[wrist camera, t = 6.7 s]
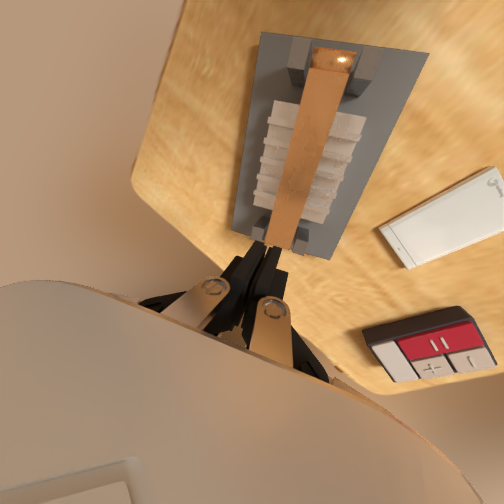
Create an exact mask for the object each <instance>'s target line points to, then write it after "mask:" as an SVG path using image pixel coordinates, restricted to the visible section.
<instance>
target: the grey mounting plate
mask: <svg viewBox="0 0 504 504" xmlns="http://www.w3.org/2000/svg"><path fill="white" fill-rule="evenodd" d="M294 37H299V36H294ZM302 38H306V37H302ZM310 39H312V54H313V50H314V48H315V47H322V48H330V49H337V50H344V51H352V52H357V54H356V57H355V60H354V63H353V66H352V69H351V71H350V74H349V77H348V80H347V83H346V86H345V89H344V92H343V94H342V97H341V100H340V103H339V106H338V109H337V112H341V113H347V114H352V115H357V116H363V117H367V118H366V121H365V123H364V126H363V128H362V131H361V133H360V135H362V136H361V138H360V140H359V142H357V143H356V145H355V148H354V150H353V152H352V155H351V156H352V160H351V162H350V163H349V162H348V164H347V167H346V169H345V172H344V174H343V176H344V179H343V181H340V184H339V186H338V189H337V191H336V193H337V195H336V198H335V199H334V198H333V201H332V203H331V206H330V212H329V215H328V214H327V215H326V218H325V220H324V223H323V224H320V223H317V222H313V221H309V220H306V219H302V218H300V220H299V223H298V226H297V229H296V232H295V235H294V238H293V241H292V244H291V247H290V248H291V249H293V245H294V240H295V236H296V233H297V231H298V228H299V227H303V228H306V229H309V243H308V246H307V248H306V251H305V253H307V254H310V255H314V256H317V257H320V258H323V259H327V260H330V259H331V257H332V255H333V252H334V250H335V248H336V246H337V244H338V242H339V240H340V238H341V236H342V234H343V232H344V230H345V228H346V226H347V223H348V221H349V219H350V217H351V215H352V213H353V211H354V209H355V207H356V205H357V203H358V201H359V199H360V197H361V195H362V192H363V190H364V188H365V186H366V184H367V182H368V180H369V178H370V176H371V174H372V172H373V170H374V168H375V166H376V163H377V161H378V159H379V157H380V155H381V153H382V151H383V149H384V147H385V145H386V143H387V141H388V139H389V137H390V135H391V132H392V130H393V128H394V126H395V124H396V122H397V120H398V118H399V116H400V114H401V112H402V110H403V108H404V106H405V103H406V101H407V99H408V97H409V95H410V93H411V91H412V89H413V87H414V85H415V83H416V81H417V79H418V77H419V74H420V72H421V70H422V68H423V66H424V64H425V62H426V60H427V58H428V56H429V54H430V53H424V52H416V51H408V50H400V49H393V48H385V47H380V48H385V50H384V52H383V55H382V57H381V60H380V62H379V65H378V68H377V70H376V73H375V75H374V78H373V80H372V82H371V83H370V84H369V85H368V87H367V88H366V89H365V91H364V92H363V93H362V94H361V96H360V97H354V96H348V95H345V92H346V89H347V86H348V83H349V80H350V77H351V75H352V72H353V69H354V67H355V65H356V63H357V61H358V59H359V57H360V54H361V52H362V50H363V48H364V46H369V45H361V44H353V43H346V42H338V41H330V40H322V39H314V38H310ZM292 41H293V36H291V35H283V34H275V33H267V32H261V36H260V43H259V49H258V56H257V63H256V69H255V76H254V83H253V89H252V96H251V102H250V109H249V116H248V122H247V129H246V136H245V142H244V149H243V155H242V162H241V169H240V175H239V182H238V189H237V195H236V202H235V208H234V215H233V222H232V228H231V230H232V231H235V232H239V233H242V234H245V235H248V236H251V233H252V229H253V226H254V224H255V223H256V222H257V221H258V220H259V219H260V217H261V216H264V217H268V218H271V215H272V211H273V210H270V209H266V208H263V207H259V206H256V205H253V203H254V198H255V195H254V194H253V193H254V190H255V189H256V188H257V183H258V179H256V178H257V174H258V173H260V169H261V164H262V162H260V157H261V156H263V154H264V149H265V144H264V143H263V142H264V137H265V138H267V134H268V129H269V124H268V123H267V121H268V117H271V114H272V109H273V104H274V100H276V101H282V102H287V103H292V104H298V105H300V103H301V99H302V95H303V91H304V88H301V87H295V86H292V84H291V80H290V77H289V73H288V70H287V64H288V59H289V55H290V50H291V45H292ZM372 47H377V46H372ZM266 235H267V234H266ZM266 235H265V237H264V239H263V240H265V238H266Z"/></svg>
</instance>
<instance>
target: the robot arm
mask: <svg viewBox="0 0 504 504" xmlns="http://www.w3.org/2000/svg"><path fill="white" fill-rule="evenodd" d="M266 249H267V246H265V245H264V243H263V242H260V241H257V240H255V242H254V243H253V245H252V246H251V248H250V249H249V250H248V252H247V253H246V255H245V256H244V258H243V257H240V256H236V257H235V258H234V259H233V261H232V262H231V263H230V264H229V266H228V267H227V268H226V270H225V271H224V272H223V274H222V275H221V276H220V277H216V276H211V277H206V278H204V279H202V280H201V281H200V282H198V283H197V284H196V285H195V286H193V287H192V288H191V289H190V290H188V291H184V292H179V293H174V294H169V295H164V296H159V297H154V298H149V299H146V300H144V301H141V298H136V297H130V296H124V295H118V294H112V293H107V292H104V291H101V290H98V289H94V288H91V287H88V286H84V285H80V284H76V283H70V282H64V281H51V280H34V281H33V280H32V281H23V282H17V283H13V284H9V285H6V286H3V287H0V504H485V502H484V501H483V499H482V498H481V496H480V495H479V494H478V492H477V491H476V489H475V488H474V487H473V485H472V484H471V483H470V482H469V480H468V479H467V478H466V477H465V476H464V474H463V473H462V472H461V471H460V470H459V469H458V468H457V467H456V466H455V465H454V464H453V463H452V462H451V461H450V460H449V459H448V458H447V457H446V456H445V455H444V454H443V453H441V452H440V451H439V450H438V449H437V448H436V447H435V446H434V445H432V444H431V443H430V442H429V441H427V440H426V439H425V438H424V437H422V436H421V435H420V434H418V433H417V432H416V431H415V430H413V429H412V428H411V427H409V426H408V425H406V424H405V423H403V422H402V421H400V420H399V419H397V418H396V417H395V416H393V415H392V414H391V413H390V412H389V411H387V410H386V409H384V408H383V407H381V406H379V405H378V404H377V403H375V402H373V401H372V400H370V399H369V398H367V397H366V396H364V395H362V394H361V393H359V392H358V391H356V390H355V389H353V388H352V387H350V386H348V385H347V384H345V383H344V382H342V381H341V380H339V379H337V378H336V377H334V378H333V379H332V378H330V377H329V376H328V375H327V373H326V371H325V369H324V368H323V366H322V365H321V364H320V362H319V361H318V360H317V358H316V357H315V356H314V354H313V353H312V352H311V351H310V349H309V348H308V346H307V345H306V344H305V343H304V341H303V340H302V339H301V337H300V336H299V335H298V333H297V332H296V331H295V329H294V328H293V327H292V325H291V316H290V309H289V307H288V305H287V304H286V303H285V302H284V301H283V296H284V291H285V287H286V282H287V277H288V272H285V271H282V270H279V269H276V267H277V264H278V260H279V257H280V254H281V251H282V248H279V247H276V246H273V248H272V247H269V249H268V251H267V253H266V255H265V252H266ZM264 256H265V257H264ZM244 312H245V313H244ZM243 314H244V317H243V321H242V325H241V328H243V331H242V337H243V339H244V341H245V343H246V347H245V348H243V347H241V346H238V345H236V344H233V343H231V342H229V341H226V340H223V339H221V338H220V337H221V335H222V332H225V331H228V330H230V331H232V330H233V327H234V325H235V326H238V325H239V323H240V321H241V319H242V316H243Z"/></svg>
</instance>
